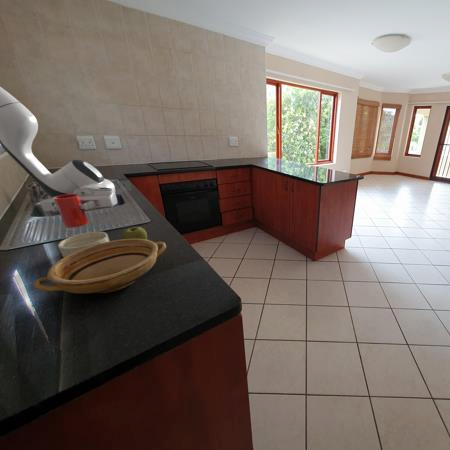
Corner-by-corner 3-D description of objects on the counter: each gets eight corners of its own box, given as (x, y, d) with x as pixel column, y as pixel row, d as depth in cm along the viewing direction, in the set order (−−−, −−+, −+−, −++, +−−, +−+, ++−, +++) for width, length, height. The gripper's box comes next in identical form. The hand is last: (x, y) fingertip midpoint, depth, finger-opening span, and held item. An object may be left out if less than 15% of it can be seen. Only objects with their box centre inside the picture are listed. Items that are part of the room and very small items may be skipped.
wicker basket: (51, 333, 51) (35, 304, 48) (39, 287, 66) (27, 262, 63) (185, 274, 72) (181, 251, 69) (154, 249, 87) (149, 229, 83)
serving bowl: (53, 262, 77) (48, 250, 76) (75, 244, 89) (71, 233, 87) (101, 257, 81) (97, 245, 79) (116, 240, 93) (113, 230, 91)
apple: (124, 253, 84) (118, 235, 81) (127, 244, 90) (122, 226, 87) (148, 248, 87) (144, 231, 84) (150, 240, 93) (145, 223, 91)
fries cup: (61, 228, 78) (48, 199, 74) (71, 222, 83) (60, 194, 79) (83, 226, 80) (72, 198, 76) (91, 220, 85) (82, 193, 81)
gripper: (52, 191, 86) (25, 202, 74) (117, 187, 92) (102, 197, 80) (58, 207, 89) (33, 220, 77) (122, 203, 95) (108, 214, 82)
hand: (69, 208), depth 78 cm, fingers closed on fries cup, 6 cm apart
